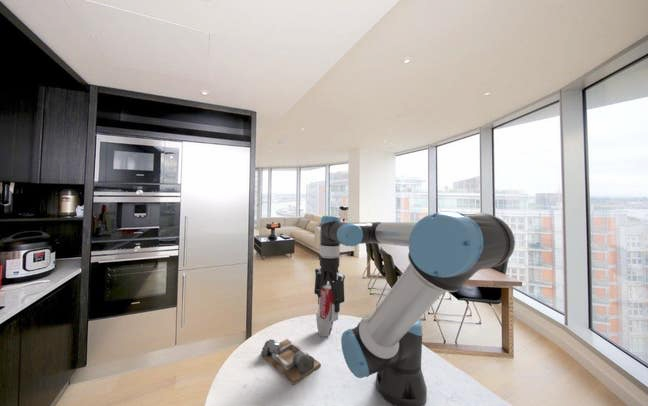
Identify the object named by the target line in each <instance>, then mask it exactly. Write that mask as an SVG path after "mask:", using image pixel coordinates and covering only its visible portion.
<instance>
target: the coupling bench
mask: <svg viewBox="0 0 648 406" xmlns="http://www.w3.org/2000/svg"><path fill="white" fill-rule="evenodd" d="M279 343H282V348H281V350H280V355H278V354H275V353H272V354H270V355H269V356H268V357H267V358H266V357H263V358H264V359H265V360H266V361H267V362H268V363H270V364H271V365H272V366H273V367H274V368H275V369H276V370H277V371H278V372H279V373H280V374H281V375H283V377H284V378H285V379H286V380H288V381H289V382H290V384H292V385H293V386H294V385H296V384H297V383H299V382H300V381H301V380H303V379H304V378H306V377H308V376H309V375H311V374H312V373H314V372H315V371H317V370H318V369H320V368H321V367H322V366H321V365H322V364H321V362H319V361H318V360H316V359H315V357H313V356H312V355H310V354H309V353H308V352H307V351H305V350H304V349H303V348H302V347H301V346H298V344H296V343H294V341H290V340H289V339H288V338H286V339H284V340H283V341H280V342H279ZM260 353H261V356H262V350H261V352H260Z"/></svg>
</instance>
